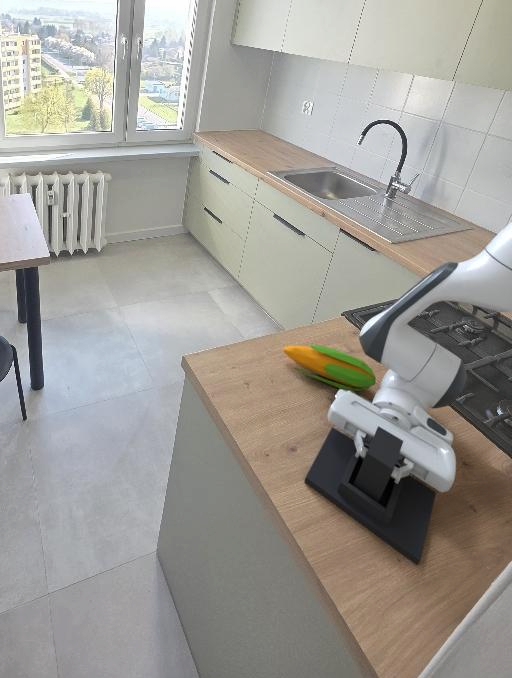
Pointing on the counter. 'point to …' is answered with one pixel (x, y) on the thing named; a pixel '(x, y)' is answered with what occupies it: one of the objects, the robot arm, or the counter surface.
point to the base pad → (380, 518)
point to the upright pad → (378, 464)
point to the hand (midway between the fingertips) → (376, 467)
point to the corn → (333, 366)
